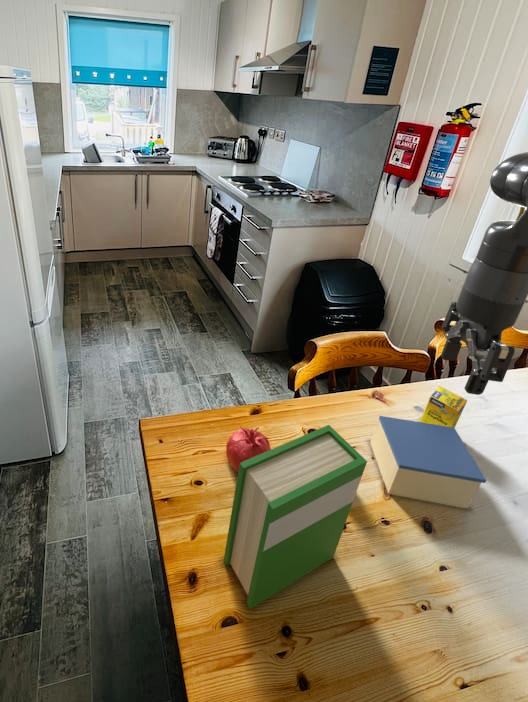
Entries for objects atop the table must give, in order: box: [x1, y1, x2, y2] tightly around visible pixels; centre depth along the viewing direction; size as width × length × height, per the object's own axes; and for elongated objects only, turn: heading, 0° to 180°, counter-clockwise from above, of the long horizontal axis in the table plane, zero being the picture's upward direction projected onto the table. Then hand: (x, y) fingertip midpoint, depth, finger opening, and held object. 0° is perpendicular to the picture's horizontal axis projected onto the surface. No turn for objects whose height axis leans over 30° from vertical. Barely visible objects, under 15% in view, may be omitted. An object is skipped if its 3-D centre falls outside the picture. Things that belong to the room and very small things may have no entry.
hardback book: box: [223, 424, 368, 610], centre depth 63 cm, size 18×7×24 cm, turn 116°
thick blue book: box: [370, 418, 482, 510], centre depth 82 cm, size 15×13×8 cm
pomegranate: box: [225, 426, 272, 473], centre depth 83 cm, size 10×10×9 cm
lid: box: [378, 415, 487, 484], centre depth 80 cm, size 15×13×1 cm
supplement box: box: [419, 385, 468, 429], centre depth 92 cm, size 6×6×11 cm
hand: (459, 374), depth 66 cm, fingers open, 8 cm apart
